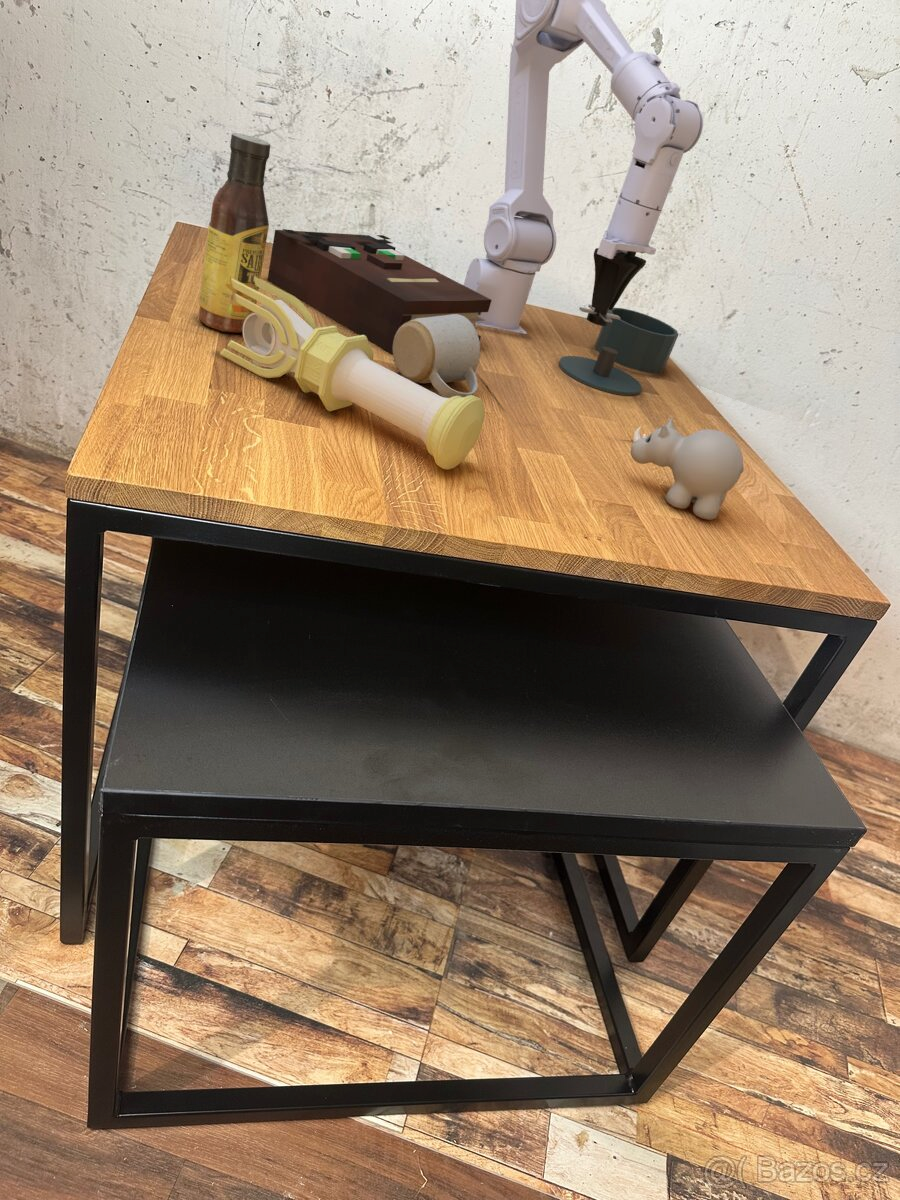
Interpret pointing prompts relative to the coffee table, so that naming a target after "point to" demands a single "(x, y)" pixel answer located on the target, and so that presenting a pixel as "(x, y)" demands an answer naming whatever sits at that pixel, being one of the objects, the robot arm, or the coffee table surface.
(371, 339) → the dark brown wooden box
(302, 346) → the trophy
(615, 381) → the lid
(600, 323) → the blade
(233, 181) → the sauce bottle
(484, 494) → the coffee table surface
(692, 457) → the chubby cartoon animal
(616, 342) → the bowl
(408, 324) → the ceramic mug
